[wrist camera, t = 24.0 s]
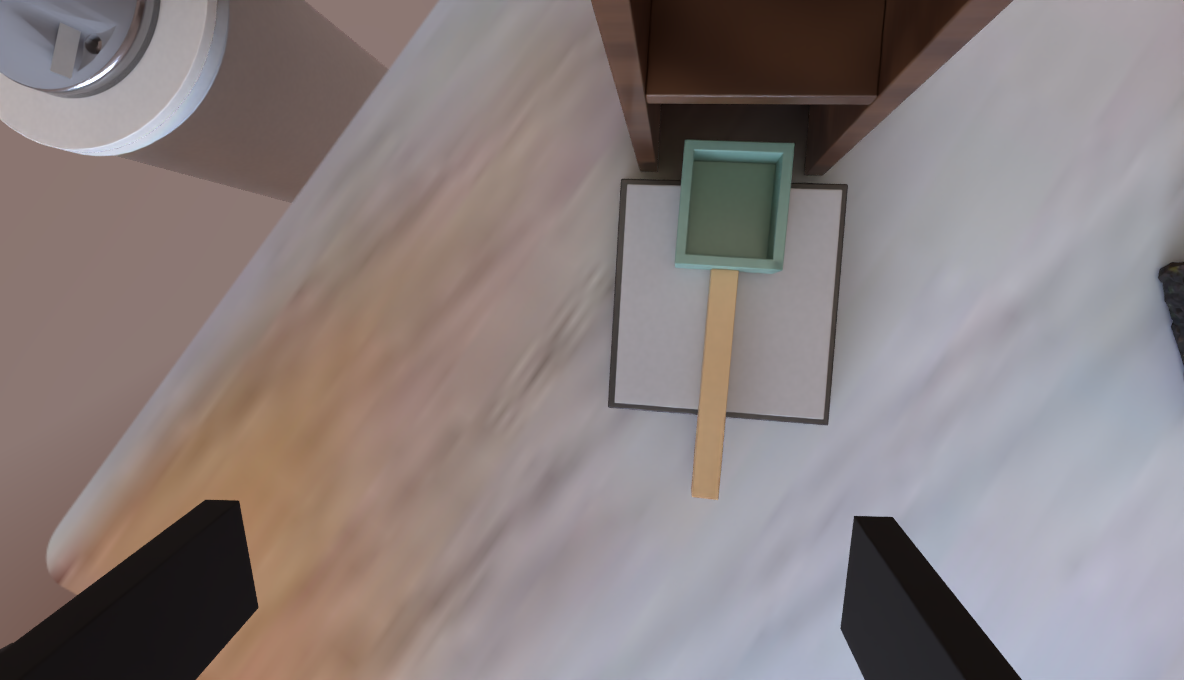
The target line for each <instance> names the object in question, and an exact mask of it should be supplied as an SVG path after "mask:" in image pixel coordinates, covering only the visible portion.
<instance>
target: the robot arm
mask: <svg viewBox="0 0 1184 680" xmlns="http://www.w3.org/2000/svg"><path fill="white" fill-rule="evenodd" d="M159 10H160V0H0V73H2V74H3V75H5V76H6V77H8V78H9V79H11V80H13V81H14V82H16V83H19V84H21V85H23V86H26V87H29V88H32V89H35V90H38V91H41V92H44V93H47V94H50V95H53V96H56V97H62V98H85V97H90V96H94V95H97V94H100V93H102V92H104V91H107V90H108V89H110V88H112V87H114V86H115V85H117V84H118V83H119V82H121V81H122V80H123V79H124V78H125V77H127V76H128V75H129V74H130V73H131V71H132V70H133V69H134V68H135V67H136V66H137V64H138V63H139V62H140V60H141V59H142V57H143V56H144V54H145V52H146V50H147V48H148V47H149V45H150V42H151V40H152V37H153V35H154V32H155V29H156V25H157V21H158V16H159ZM257 609H258V602H257V597H256V591H255V586H254V580H253V575H252V569H251V564H250V558H249V553H248V547H247V542H246V536H245V531H244V525H243V520H242V514H241V509H240V503H239V501H233V500H205V501H203V502H202V503H201V504H199V505H198V506H196V507H195V508H194V509H192V510H191V511H190V512H188V513H187V514H186V515H184V516H183V517H182V518H180V519H179V520H178V521H176V522H175V523H174V524H172V525H171V526H170V527H168V528H167V529H166V530H164V531H163V532H162V533H160V534H159V535H158V536H156V537H155V538H154V539H152V540H151V541H150V542H148V543H147V544H146V545H144V546H143V547H142V548H140V549H139V550H138V551H136V552H135V553H134V554H132V555H131V556H129V557H128V558H127V559H125V560H124V561H123V562H121V563H120V564H119V565H117V566H116V567H115V568H113V569H112V570H111V571H109V572H108V573H107V574H105V575H104V576H103V577H101V578H100V579H99V580H97V581H96V582H95V583H93V584H92V585H91V586H89V587H88V588H87V589H85V590H84V591H83V592H81V593H80V594H79V595H77V596H76V597H75V598H73V599H72V600H71V601H69V602H68V603H67V604H65V605H64V606H63V607H61V608H60V609H59V610H57V611H56V612H55V613H53V614H52V615H50V616H49V617H48V618H47V619H45V620H44V621H42V622H41V623H40V624H39V625H37V626H36V627H34V628H33V629H32V630H31V631H29V632H28V633H26V634H25V635H24V636H23V637H21V638H20V639H18V640H17V641H16V642H14V643H11V644H9V645H7V646H6V647H4V648H2V649H0V680H196V679H197V678H198V676H199V675H200V674H201V673H202V672H203V671H204V669H205V668H206V667H207V666H208V665H209V664H210V663H211V661H212V660H213V659H214V658H215V657H216V656H217V655H218V653H219V652H220V651H221V650H222V649H223V648H224V647H225V645H226V644H227V643H228V642H229V641H230V640H231V639H232V637H233V636H234V635H235V634H236V633H237V632H238V631H239V629H240V628H241V627H242V626H243V625H244V624H245V623H246V621H247V620H248V619H249V618H250V617H251V616H252V615H253V613H254V612H255V611H256V610H257ZM841 631H842V633H843V635H844V637H845V639H846V641H847V643H848V645H849V648H850V650H851V652H852V654H853V656H854V658H855V660H856V662H857V664H858V666H859V668H860V671H861V673H862V675H863V677H864V679H865V680H1022V679H1021V678H1020V677H1019V675H1018V674H1017V673H1016V672H1015V670H1014V669H1013V668H1012V667H1011V665H1010V664H1009V663H1008V662H1007V660H1006V659H1005V658H1004V657H1003V655H1002V654H1001V653H1000V652H999V650H998V649H997V648H996V647H995V645H994V644H993V643H992V642H991V640H990V639H989V638H988V636H987V635H986V634H985V633H984V631H983V630H982V629H981V628H980V626H979V625H978V624H977V623H976V621H975V620H974V619H973V618H972V616H971V615H970V614H969V613H968V611H967V610H966V609H965V608H964V606H963V605H962V604H961V603H960V601H959V600H958V599H957V597H956V596H955V595H954V594H953V592H952V591H951V590H950V589H949V587H948V586H947V585H946V584H945V582H944V581H943V580H942V579H941V577H940V576H939V575H938V574H937V572H936V571H935V570H934V569H933V567H932V566H931V565H930V564H929V562H928V561H927V560H926V558H925V557H924V556H923V555H922V553H921V552H920V551H919V550H918V548H917V547H916V546H915V545H914V543H913V542H912V541H911V540H910V538H909V537H908V536H907V535H906V533H905V532H904V531H903V530H902V528H901V527H900V526H899V525H898V523H897V522H896V521H895V519H894V518H893V517H872V516H854V522H853V530H852V538H851V546H850V555H849V563H848V571H847V579H846V588H845V596H844V604H843V613H842V621H841Z"/></svg>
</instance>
